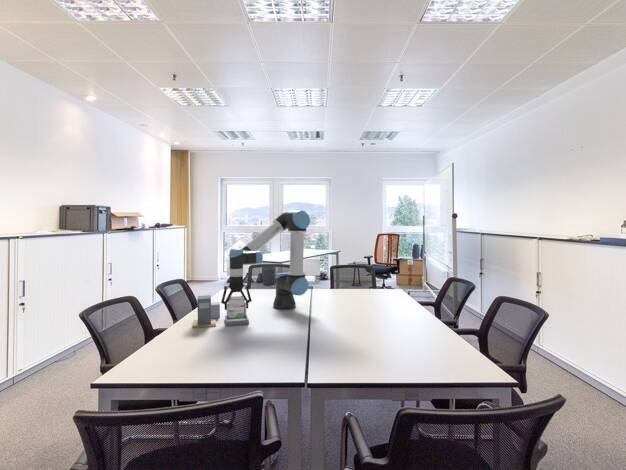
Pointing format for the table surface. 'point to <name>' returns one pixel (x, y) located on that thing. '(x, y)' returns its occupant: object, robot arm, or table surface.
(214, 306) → the grey block
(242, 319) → the tray
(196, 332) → the table surface
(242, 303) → the ink box
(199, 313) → the mounted unit
